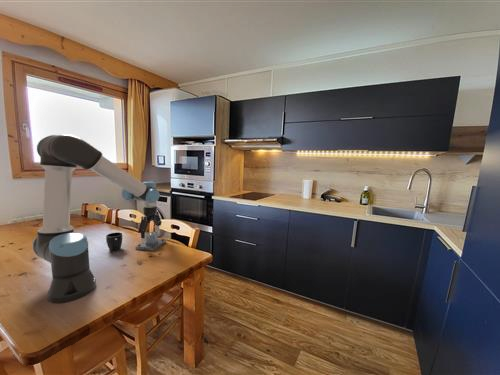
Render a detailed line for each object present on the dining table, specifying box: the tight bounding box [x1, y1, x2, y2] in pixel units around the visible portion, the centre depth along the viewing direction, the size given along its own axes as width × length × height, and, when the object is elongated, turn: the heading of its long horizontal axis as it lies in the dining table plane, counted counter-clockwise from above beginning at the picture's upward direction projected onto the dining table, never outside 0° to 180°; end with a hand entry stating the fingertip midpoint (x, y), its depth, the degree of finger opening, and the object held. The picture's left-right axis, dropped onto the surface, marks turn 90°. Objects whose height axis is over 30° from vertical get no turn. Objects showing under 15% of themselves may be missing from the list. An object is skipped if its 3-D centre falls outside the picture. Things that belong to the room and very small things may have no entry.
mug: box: [105, 231, 123, 253], centre depth 124 cm, size 8×12×10 cm
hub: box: [145, 231, 159, 245], centre depth 132 cm, size 7×7×6 cm
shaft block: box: [135, 233, 167, 252], centre depth 132 cm, size 14×12×8 cm
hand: (151, 238), depth 132 cm, fingers open, 13 cm apart
